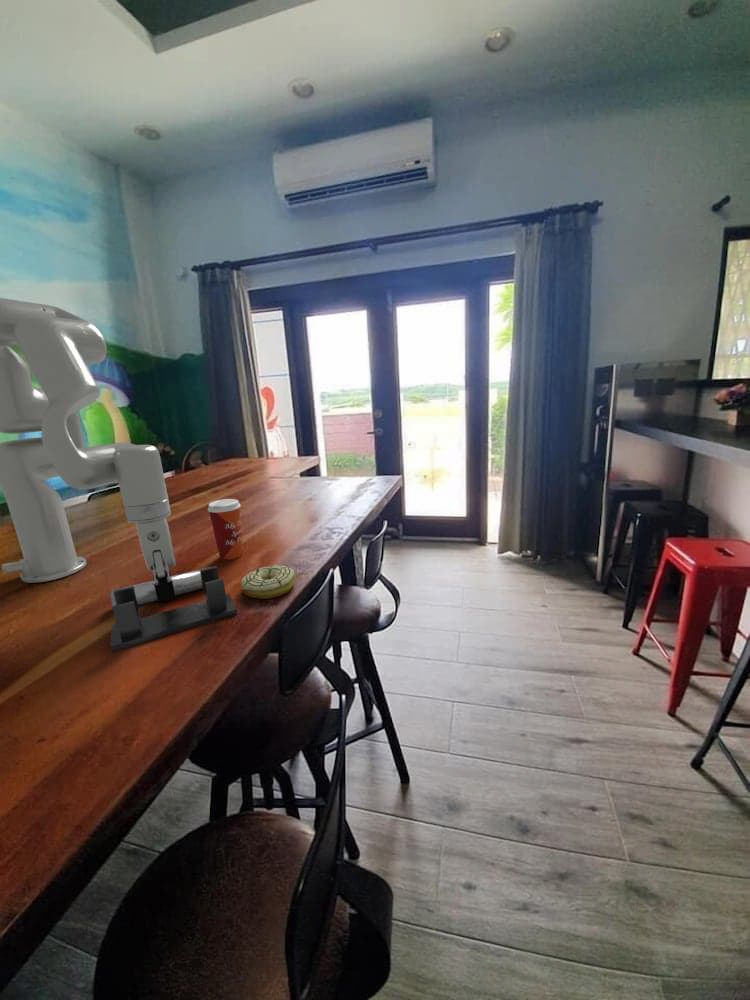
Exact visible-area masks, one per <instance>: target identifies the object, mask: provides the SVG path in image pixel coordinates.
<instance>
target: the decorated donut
mask: <svg viewBox="0 0 750 1000" xmlns="http://www.w3.org/2000/svg"><path fill="white" fill-rule="evenodd" d="M294 570H295V569H293V568H291V567H289V566H287V565H283V564H278V565H266V566H262V567H260V568H259V567H258V568H256V569H254V570H253V571H251V572H249V573H247V574H246V575H245V576H244V577H242V579H241V581H240V584H241V590H242V592H243V594H244V595H245V596H246V597H250V598H251V599H258V600H263V599H264V600H269V599H274V598H277V597H278V598H279V597H281V596H284V595H286V594H288V592H289V591H291V589H292V588H293V585H294V584H295V582H296V574H295V571H294Z"/></svg>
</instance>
